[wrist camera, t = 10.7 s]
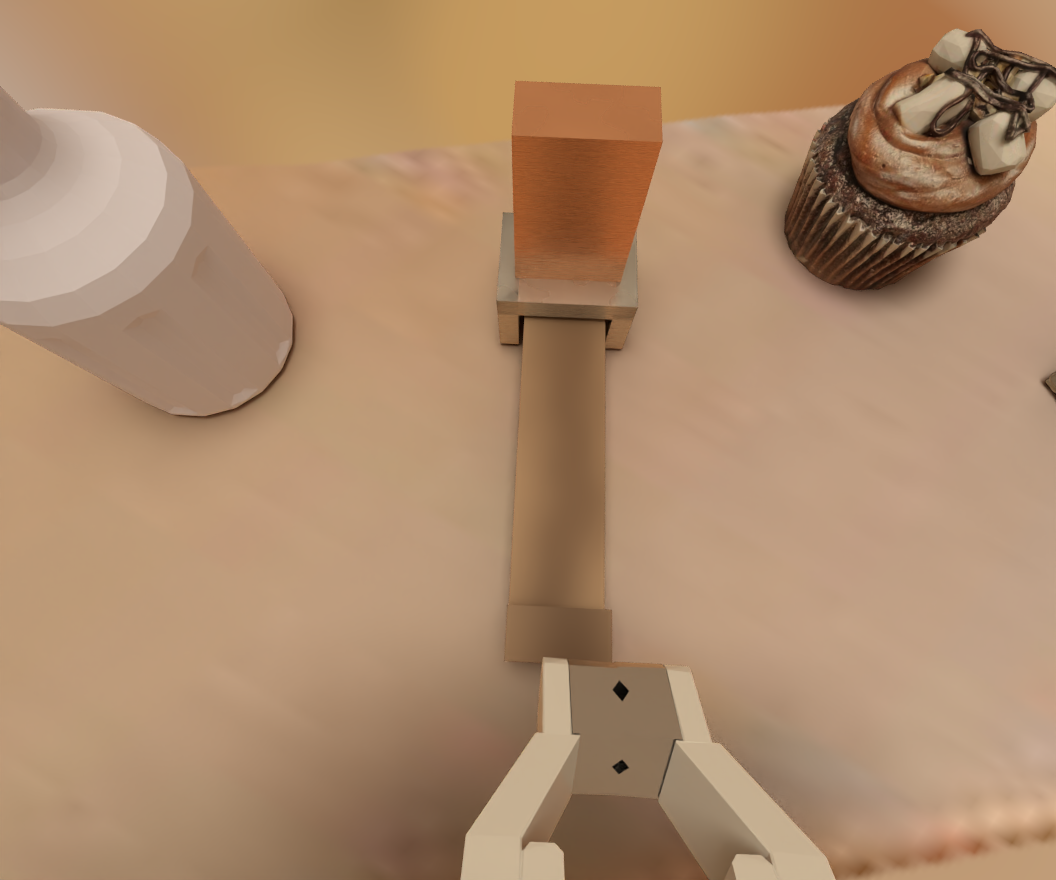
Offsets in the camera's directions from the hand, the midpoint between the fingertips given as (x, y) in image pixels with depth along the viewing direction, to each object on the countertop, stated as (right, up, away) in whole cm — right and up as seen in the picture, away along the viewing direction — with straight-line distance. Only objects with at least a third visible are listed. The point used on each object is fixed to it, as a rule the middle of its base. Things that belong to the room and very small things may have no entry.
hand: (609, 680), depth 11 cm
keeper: (0, +12, +19) cm, 23 cm away
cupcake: (+17, +17, +21) cm, 32 cm away
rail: (0, +6, +17) cm, 18 cm away
